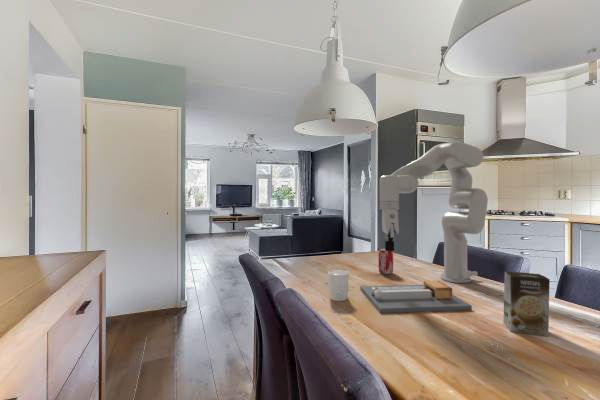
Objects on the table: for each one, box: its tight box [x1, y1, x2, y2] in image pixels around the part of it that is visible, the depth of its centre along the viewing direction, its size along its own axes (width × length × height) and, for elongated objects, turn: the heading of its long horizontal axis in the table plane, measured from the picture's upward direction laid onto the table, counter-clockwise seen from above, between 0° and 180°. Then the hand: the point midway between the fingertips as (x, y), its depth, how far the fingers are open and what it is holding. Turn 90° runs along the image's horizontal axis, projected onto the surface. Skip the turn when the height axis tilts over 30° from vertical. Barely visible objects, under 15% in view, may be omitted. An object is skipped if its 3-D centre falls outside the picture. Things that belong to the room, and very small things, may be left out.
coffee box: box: [503, 270, 551, 337], centre depth 85 cm, size 9×6×16 cm
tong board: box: [359, 284, 473, 314], centre depth 110 cm, size 32×24×4 cm
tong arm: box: [371, 286, 426, 296], centre depth 111 cm, size 21×3×2 cm, turn 94°
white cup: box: [327, 269, 350, 302], centre depth 111 cm, size 8×8×10 cm
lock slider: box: [423, 280, 453, 299], centre depth 110 cm, size 6×9×4 cm, turn 4°
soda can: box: [378, 247, 394, 275], centre depth 147 cm, size 7×7×12 cm
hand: (389, 250), depth 119 cm, fingers closed
